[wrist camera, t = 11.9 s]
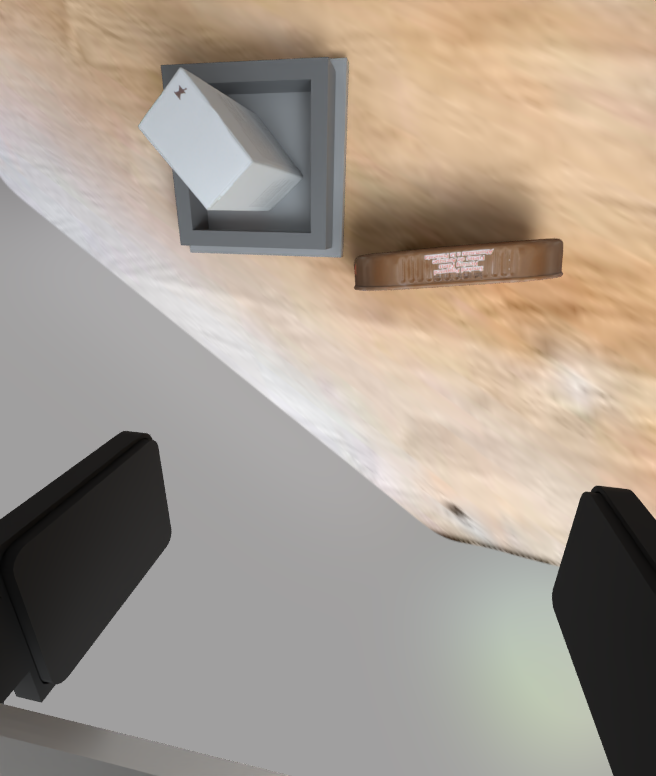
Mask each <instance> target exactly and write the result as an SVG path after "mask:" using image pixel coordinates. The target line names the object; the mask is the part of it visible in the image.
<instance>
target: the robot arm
mask: <svg viewBox="0 0 656 776" xmlns="http://www.w3.org/2000/svg"><path fill="white" fill-rule="evenodd" d="M170 538H171V525H170V519H169V512H168V505H167V500H166V493H165V487H164V480H163V474H162V468H161V461H160V455H159V449H158V445H157V443H156V441H154V440H152V438H151V436H150V435H149V434H147V433H139V432H129V431H123V432H121V433H119V434H118V435H116V436H115V437H114V438H112V439H111V440H109V441H108V442H107V443H105V444H104V445H102V446H101V447H100V448H99V449H97V450H96V451H94V452H93V453H91V454H90V455H89V456H87V457H86V458H85V459H83V460H82V461H80V462H79V463H78V464H76V465H75V466H73V467H72V468H71V469H69V470H68V471H67V472H65V473H64V474H63V475H61V476H60V477H58V478H57V479H56V480H54V481H53V482H51V483H50V484H49V485H47V486H46V487H44V488H43V489H42V490H40V491H39V492H38V493H36V494H35V495H33V496H32V497H31V498H29V499H28V500H27V501H25V502H24V503H22V504H21V505H20V506H18V507H17V508H15V509H14V510H13V511H11V512H10V513H9V514H7V515H6V516H5V517H3V518H2V519H0V776H289V775H285V774H281V773H277V772H273V771H269V770H266V769H262V768H257V767H254V766H250V765H246V764H242V763H238V762H234V761H230V760H226V759H222V758H218V757H214V756H210V755H206V754H202V753H198V752H194V751H190V750H186V749H182V748H178V747H174V746H170V745H167V744H163V743H159V742H155V741H150V740H147V739H143V738H138V737H134V736H130V735H126V734H122V733H118V732H114V731H110V730H106V729H102V728H97V727H93V726H90V725H85V724H82V723H77V722H73V721H69V720H65V719H61V718H57V717H53V716H48V715H45V714H41V713H37V712H33V711H29V710H24V709H20V708H16V707H12V706H8V705H4V701H5V699H6V698H7V697H8V696H9V695H10V693H11V692H12V691H13V690H14V692H15V694H16V696H18V697H21V698H25V699H29V700H34V701H38V702H42V701H43V700H44V699H45V698H46V696H47V695H48V694H49V692H50V691H51V690H52V688H53V687H54V686H55V685H56V684H59V683H62V682H63V681H64V680H65V679H66V678H67V677H68V676H69V675H70V674H71V672H72V671H73V670H74V668H75V667H76V666H77V664H78V663H79V661H80V660H81V659H82V658H83V656H84V655H85V654H86V652H87V651H88V650H89V648H90V647H91V646H92V644H93V643H94V642H95V640H96V639H97V638H98V636H99V635H100V634H101V633H102V631H103V630H104V629H105V627H106V626H107V625H108V623H109V622H110V621H111V619H112V618H113V617H114V615H115V614H116V612H117V611H118V610H119V609H120V607H121V606H122V605H123V603H124V602H125V601H126V600H127V598H128V597H129V596H130V594H131V593H132V592H133V590H134V589H135V588H136V586H137V585H138V584H139V582H140V581H141V580H142V578H143V577H144V576H145V574H146V573H147V572H148V570H149V569H150V568H151V566H152V565H153V564H154V563H155V561H156V560H157V559H158V557H159V556H160V555H161V553H162V552H163V551H164V549H165V548H166V547H167V545H168V543H169V541H170ZM552 601H553V608H554V611H555V614H556V617H557V620H558V622H559V625H560V628H561V631H562V634H563V637H564V639H565V642H566V645H567V648H568V650H569V653H570V656H571V659H572V662H573V664H574V667H575V670H576V672H577V675H578V678H579V681H580V684H581V686H582V689H583V692H584V695H585V698H586V700H587V703H588V706H589V709H590V711H591V714H592V717H593V720H594V723H595V725H596V728H597V731H598V734H599V737H600V739H601V741H602V745H603V747H604V750H605V753H606V756H607V759H608V762H609V764H610V767H611V770H612V773H613V775H614V776H656V520H655V518H654V517H653V516H652V515H651V514H650V512H649V511H648V510H647V509H646V507H645V506H644V505H643V504H642V502H641V501H640V500H639V499H638V497H637V496H636V495H635V494H634V493H633V492H632V491H631V490H628V489H622V488H613V487H604V486H595V487H594V488H593V489H592V490H591V492H584V493H583V494H582V496H581V498H580V501H579V505H578V508H577V511H576V515H575V518H574V521H573V525H572V528H571V531H570V535H569V538H568V541H567V545H566V548H565V551H564V555H563V558H562V561H561V564H560V568H559V571H558V575H557V578H556V581H555V585H554V588H553V592H552Z"/></svg>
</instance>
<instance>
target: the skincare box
mask: <svg viewBox="0 0 656 776" xmlns="http://www.w3.org/2000/svg"><path fill="white" fill-rule="evenodd" d="M138 127H139V129H140V130H141V131H142V133H143V134H144V135H145V136H146V138H147V139H148V140H149V141H150V142H151V144H152V145H153V146H154V147H155V148H156V150H157V151H158V152H159V153H160V154H161V156H162V157H163V158H164V159H165V161H166V162H167V163H168V164H169V165H170V166H171V168H172V169H173V170H174V171H175V172H176V173H177V175H178V176H179V177H180V178H181V179H182V180H183V182H184V183H185V184H186V185H187V186H188V188H189V189H190V190H191V191H192V192H193V194H194V195H195V196H196V197H197V198H198V199H199V201H200V202H201V203H202V204H203V206H204V207H205V208H206V209H207V210H232V211H233V210H235V211H270V210H271V209H272V208H273V207H274V206H275V205H276V204H277V203H278V202H279V201H280V200H281V199H282V198H283V197H284V196H285V195H286V194H287V193H288V192H289V191H290V190H291V189H292V188H293V187H294V186H295V185H296V184H297V183H298V182H299V181H300V180H301V179H302V178H303V175H302V174H301V173H300V171H299V170H298V169H297V167H296V166H295V165H294V163H293V162H292V161H291V159H290V158H289V157H288V155H287V154H286V153H285V151H284V150H283V149H282V147H281V146H280V145H279V143H278V142H277V141H276V140H275V138H274V137H273V136H272V134H271V133H270V132H269V130H268V129H267V128H266V126H265V125H264V124H263V122H262V121H261V120H260V118H259V117H258V116H257V115H256V114H255V113H253V112H252V111H250V110H248V109H247V108H245V107H244V106H242V105H241V104H239V103H237V102H236V101H234V100H233V99H231V98H229V97H228V96H226V95H225V94H223V93H221V92H220V91H219V90H217V89H215V88H214V87H212V86H211V85H209V84H207V83H206V82H204V81H203V80H201V79H200V78H198V77H197V76H195V75H194V74H192V73H190V72H189V71H187V70H185V69H183V68H181V67H180V68H179V69H178V71H177V72H176V73H175V75H174V76H173V78H172V79H171V81H170V82H169V84H168V85H167V86H166V88H165V89H164V91H163V92H162V94H161V95H160V96H159V98H158V99H157V100H156V102H155V103H154V104H153V106H152V107H151V108H150V110H149V111H148V112H147V114H146V115H145V117H144V118H143V120H142V121H141V122H140V124H139V125H138Z"/></svg>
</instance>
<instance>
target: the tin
mask: <svg viewBox="0 0 656 776" xmlns="http://www.w3.org/2000/svg"><path fill="white" fill-rule="evenodd" d="M562 258H563V242H562V240H560V239H538V240H526V241H512V242H498V243H485V244H472V245H459V246H448V247H437V248H427V249H417V250H407V251H396V252H387V253H376V254H368V255H362V256H359V257H357V258H356V260H355V262H354V269H355V287H354V289H355V290H363V291H374V290H378V291H379V290H401V289H418V288H434V287H448V286H463V285H477V284H493V283H510V282H524V281H534V280H543V279H551V278H557V277H561V276H562V275H563V273H562Z"/></svg>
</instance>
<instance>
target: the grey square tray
mask: <svg viewBox="0 0 656 776" xmlns="http://www.w3.org/2000/svg"><path fill="white" fill-rule="evenodd" d="M180 67H181V68H183V69H185V70H187V71H189V72H190V73H192V74H194V75H195V76H197V77H198V78H200V79H201V80H203V81H204V82H206V83H207V84H209V85H211V86H212V87H214V88H215V89H217V90H219V91H220V92H221V93H223V94H225V95H226V96H228V97H229V98H231V99H233V100H234V101H236V102H237V103H239V104H241V105H242V106H244V107H245V108H247V109H248V110H250V111H252V112H253V113H255V114H256V115H257V116H258V117H259V118H260V120H261V121H262V122H263V124H264V125H265V126H266V128H267V129H268V130H269V132H270V133H271V134H272V136H273V137H274V138H275V140H276V141H277V142H278V143H279V145H280V146H281V147H282V149H283V150H284V151H285V153H286V154H287V155H288V157H289V158H290V159H291V161H292V162H293V163H294V165H295V166H296V167H297V169H298V170H299V171H300V173H301V174H302V175H303V178H302V179H301V180H300V181H299V182H298V183H297V184H296V185H295V186H294V187H293V188H292V189H291V190H290V191H289V192H288V193H287V194H286V195H285V196H284V197H283V198H282V199H281V200H280V201H279V202H278V203H277V204H276V205H275V206H274V207H273V208H272V209H271V210H270V211H235V210H233V211H232V210H207V209H206V208H205V207H204V206H203V204H202V203H201V202H200V201H199V199H198V198H197V197H196V196H195V195H194V194H193V192H192V191H191V190H190V189H189V188H188V186H187V185H186V184H185V183H184V182H183V180H182V179H181V178H180V177H179V176H178V175H177V173H176V172H175V171H174V170H173V169H172V170H173V179H174V188H175V197H176V206H177V215H178V224H179V233H180V242H181V245H190V252H194V253H223V254H253V255H282V256H311V257H340V258H341V257H343V243H344V209H345V175H346V141H347V107H348V73H349V62H348V59H347V58H333V59H329V58H328V57H320V58H299V59H279V60H258V61H237V62H216V63H196V64H175V65H161V71H162V80H163V89H165V88H166V86H167V85H168V84H169V82H170V81H171V79H172V78H173V76H174V75H175V73H176V72H177V71H178V69H179V68H180Z"/></svg>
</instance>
